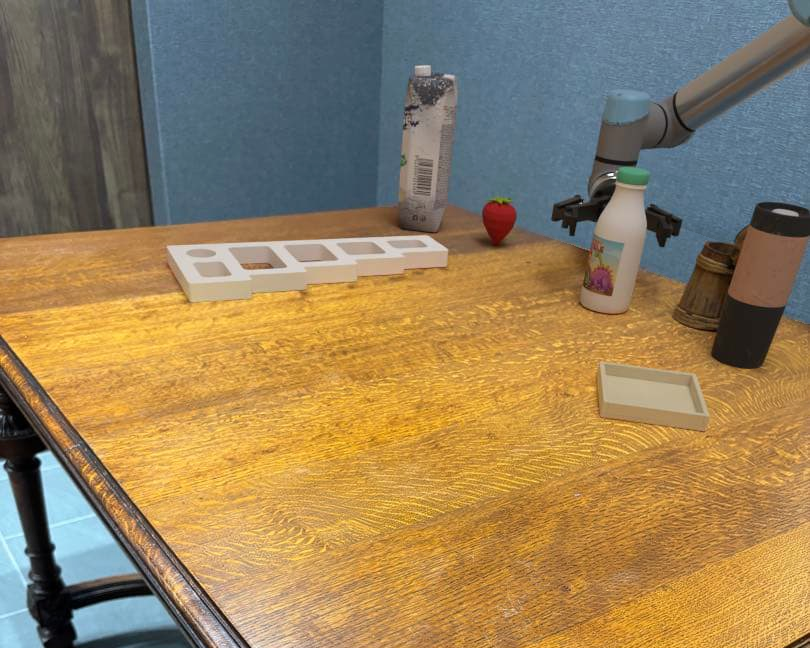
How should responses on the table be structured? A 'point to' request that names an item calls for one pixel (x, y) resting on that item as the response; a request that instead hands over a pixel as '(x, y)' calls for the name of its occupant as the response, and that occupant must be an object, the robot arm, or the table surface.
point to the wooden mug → (709, 284)
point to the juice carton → (426, 149)
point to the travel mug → (761, 283)
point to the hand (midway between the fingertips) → (618, 232)
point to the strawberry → (498, 218)
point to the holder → (295, 264)
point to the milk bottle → (617, 245)
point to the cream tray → (651, 396)
